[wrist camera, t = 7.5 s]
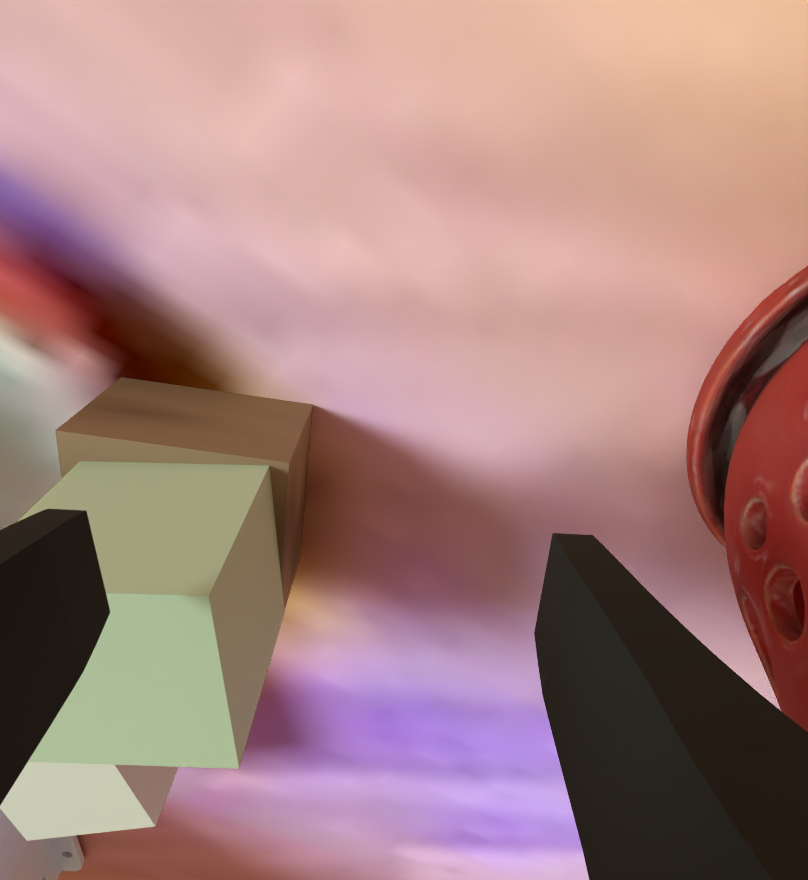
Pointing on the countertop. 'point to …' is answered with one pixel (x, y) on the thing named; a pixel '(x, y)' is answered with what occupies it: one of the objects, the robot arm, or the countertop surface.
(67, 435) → the walnut block
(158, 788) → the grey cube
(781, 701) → the plant pot
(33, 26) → the countertop surface
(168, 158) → the countertop surface
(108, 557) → the sage cube
